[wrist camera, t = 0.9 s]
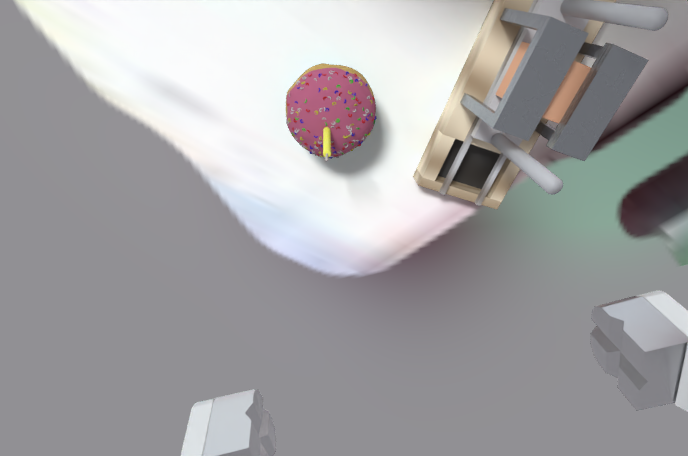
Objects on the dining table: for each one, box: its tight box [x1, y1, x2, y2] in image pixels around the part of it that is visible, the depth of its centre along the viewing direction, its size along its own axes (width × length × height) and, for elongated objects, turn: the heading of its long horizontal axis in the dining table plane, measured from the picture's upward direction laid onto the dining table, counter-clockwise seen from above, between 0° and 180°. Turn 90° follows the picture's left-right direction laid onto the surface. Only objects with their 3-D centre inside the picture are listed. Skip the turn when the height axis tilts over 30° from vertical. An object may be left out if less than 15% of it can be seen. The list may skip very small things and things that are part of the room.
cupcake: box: [286, 64, 376, 161], centre depth 41 cm, size 9×8×12 cm
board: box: [413, 0, 616, 209], centre depth 45 cm, size 31×10×3 cm, turn 160°
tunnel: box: [460, 8, 648, 161], centre depth 41 cm, size 9×10×8 cm
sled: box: [471, 0, 668, 194], centre depth 39 cm, size 14×5×12 cm, turn 160°
